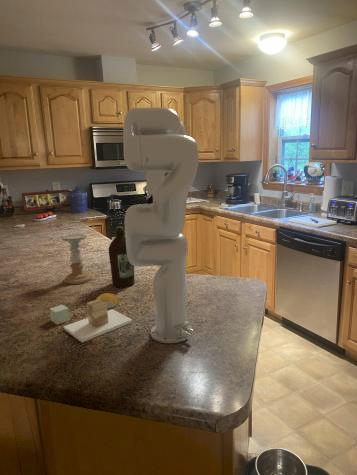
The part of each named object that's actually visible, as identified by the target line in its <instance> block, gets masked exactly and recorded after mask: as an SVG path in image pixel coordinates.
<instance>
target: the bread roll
mask: <svg viewBox="0 0 357 475" xmlns="http://www.w3.org/2000/svg"><path fill="white" fill-rule="evenodd" d="M98 299H100V300H102V301H104V302H106V303H107V310H110V309H112V308H114V307H116V306H117V305H118V297H117V295H115V294H114V293H110V292H105V293H102V294H100V295H99V296H98V297H96V298H95V300H98Z"/></svg>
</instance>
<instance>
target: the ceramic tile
mask: <svg viewBox="0 0 357 475" xmlns="http://www.w3.org/2000/svg"><path fill="white" fill-rule="evenodd" d="M107 313H108V323H107V324H104V325H102V326H99V327H97V328H96V327H94V326H92V325H91V324H89V320H88V317H85V318H84V319H80V320H77V321H75V322H72V323H70V324H66V325H64V326H63V330H65V332H68V334H69V335H71V336H72V337H74V338H75V339H76V340H78V341H79V342H80V343H84V342H88V341H90V340H92V339H94V338H97V337H100V336H102V335H104V334H107V333H110V332H112V331H115V330H118V329H119V328H122V327H124V326H127V325H129V324H132V323H133V319H131V318H130V317H127V316H126V315H124V314H122V313H120V312H118V311H117V310H114V309H112V308H110V309H107Z"/></svg>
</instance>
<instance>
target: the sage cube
mask: <svg viewBox="0 0 357 475" xmlns="http://www.w3.org/2000/svg"><path fill="white" fill-rule="evenodd" d="M49 314H50V315H49V316H50V321H51V322H52V323H54V324H55V325H56V326H57V325H61V324H63V323H66V322H69V321H71V320H70V311H69V307H67V306H66V305H64V304H59V305H56V306H54V307H50V308H49Z"/></svg>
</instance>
